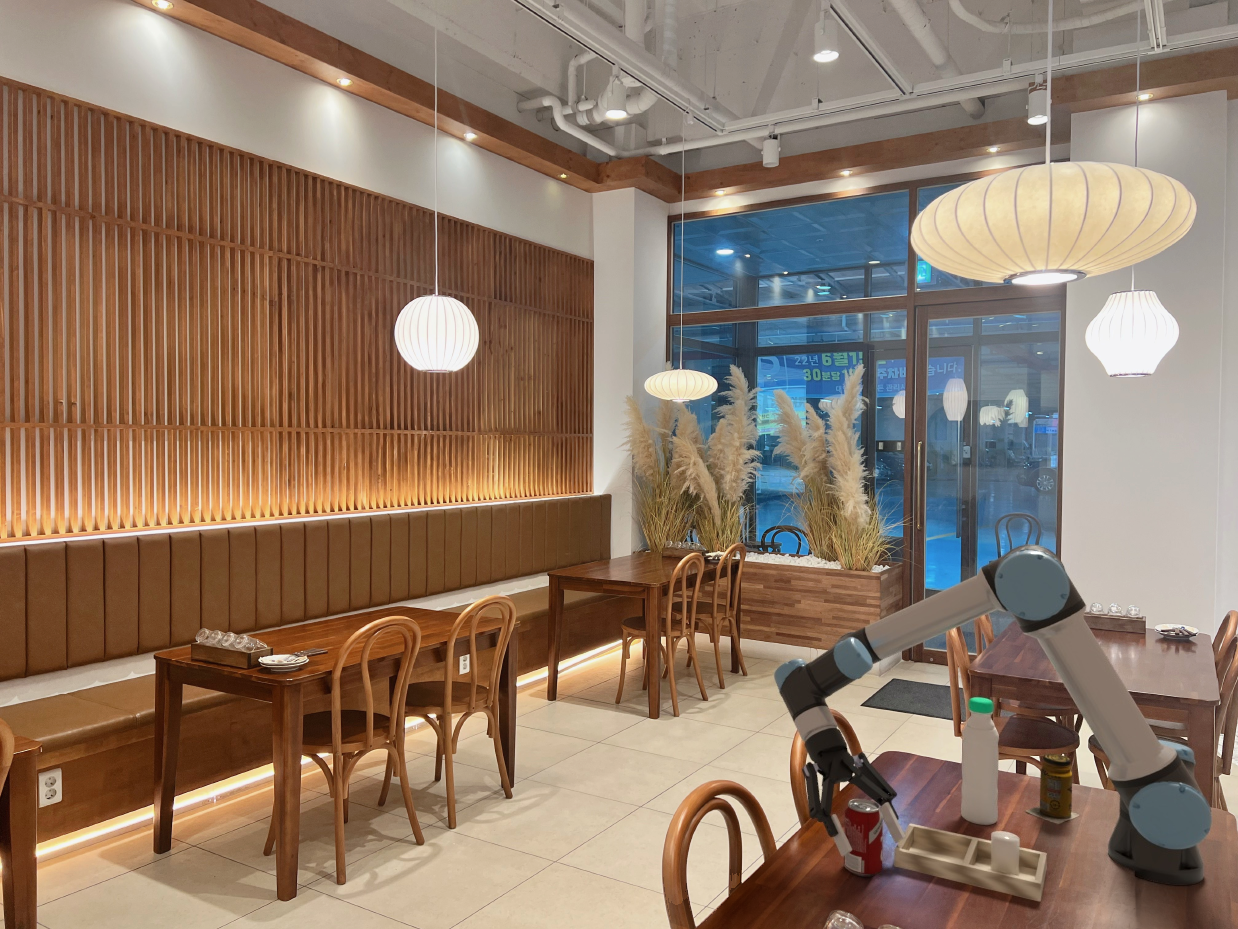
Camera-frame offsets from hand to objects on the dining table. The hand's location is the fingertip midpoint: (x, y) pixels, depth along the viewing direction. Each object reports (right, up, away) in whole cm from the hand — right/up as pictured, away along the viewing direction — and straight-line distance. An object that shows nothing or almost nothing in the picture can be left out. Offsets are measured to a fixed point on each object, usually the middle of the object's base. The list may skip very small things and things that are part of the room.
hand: (874, 846), depth 156 cm
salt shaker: (+23, -4, -2) cm, 23 cm away
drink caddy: (+18, -5, +1) cm, 18 cm away
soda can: (-2, -5, +2) cm, 6 cm away
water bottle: (+29, -5, +25) cm, 38 cm away
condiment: (+46, -5, +27) cm, 54 cm away
